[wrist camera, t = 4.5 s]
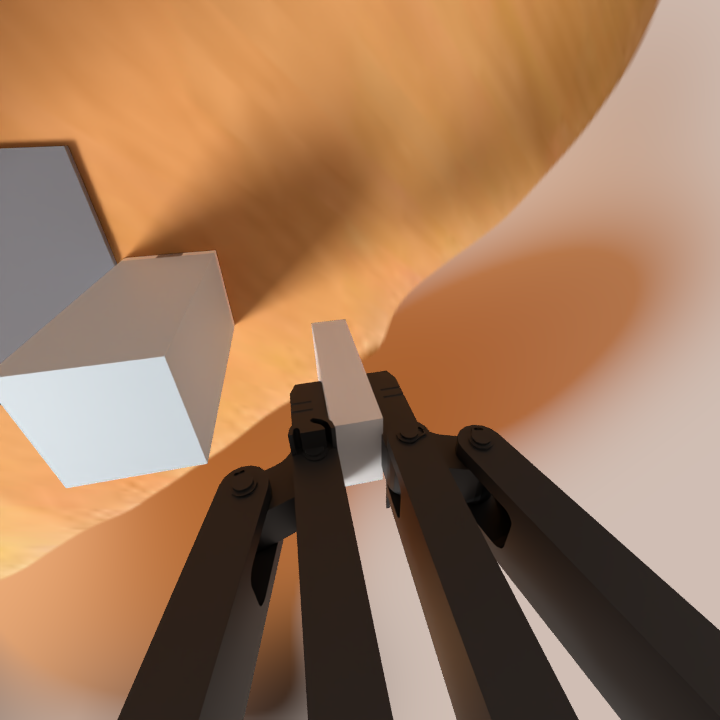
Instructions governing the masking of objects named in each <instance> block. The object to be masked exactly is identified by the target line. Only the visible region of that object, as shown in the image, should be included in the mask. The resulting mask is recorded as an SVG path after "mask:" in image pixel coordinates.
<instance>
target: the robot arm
mask: <svg viewBox="0 0 720 720" xmlns="http://www.w3.org/2000/svg"><path fill="white" fill-rule="evenodd" d="M311 324H312V333H313V341H314V349H315V358H316V366H317V374H318V380H319V381H318V382H311V383H304V384H298V385H295V386H294V388H293V390H292V391H291V393H290V403H291V418H292V426H291V427H290V429H289V433H288V438H289V443H290V448H291V453H290V454H289V455H288V456H287V458H286V459H284V460H283V461H282V462H281V463H279V464H277V465H276V466H274V467H272V468H269V469H267V470H265V471H264V470H263V469H261V468H260V467H256V466H245V467H240V468H238V469H236V470H234V471H232V472H231V473H229V474H228V475H227V476H226V477H225V478H224V479H223V480H222V482H221V484H220V485H219V487H218V489H217V492H216V494H215V496H214V499H213V501H212V503H211V506H210V508H209V510H208V512H207V515H206V517H205V519H204V522H203V524H202V526H201V529H200V531H199V533H198V536H197V538H196V540H195V542H194V545H193V547H192V549H191V552H190V554H189V556H188V559H187V561H186V563H185V566H184V568H183V570H182V572H181V575H180V577H179V580H178V582H177V584H176V586H175V588H174V591H173V593H172V595H171V598H170V600H169V602H168V605H167V607H166V609H165V611H164V614H163V616H162V619H161V621H160V623H159V626H158V628H157V630H156V632H155V635H154V637H153V639H152V641H151V644H150V646H149V649H148V651H147V653H146V655H145V658H144V660H143V662H142V664H141V667H140V669H139V671H138V674H137V676H136V679H135V681H134V683H133V685H132V688H131V690H130V692H129V694H128V697H127V699H126V701H125V704H124V706H123V708H122V710H121V713H120V715H119V718H118V720H244V715H245V711H246V706H247V702H248V698H249V693H250V688H251V684H252V679H253V675H254V670H255V666H256V661H257V656H258V652H259V648H260V643H261V638H262V634H263V630H264V625H265V620H266V616H267V611H268V607H269V602H270V598H271V593H272V588H273V584H274V580H275V575H276V570H277V566H278V562H279V557H280V552H281V548H282V544H283V539H284V538H286V537H288V536H290V535H291V534H293V533H295V532H297V544H298V545H297V546H298V562H299V579H300V594H301V611H302V627H303V644H304V660H305V677H306V693H307V710H308V720H393V716H392V711H391V707H390V702H389V697H388V692H387V687H386V682H385V677H384V672H383V668H382V663H381V658H380V653H379V648H378V643H377V638H376V633H375V629H374V624H373V619H372V614H371V609H370V604H369V600H368V595H367V590H366V585H365V580H364V575H363V570H362V565H361V561H360V556H359V551H358V546H357V541H356V536H355V531H354V527H353V522H352V517H351V512H350V507H349V503H348V498H347V493H346V488H345V486H349V485H355V484H360V483H366V482H371V481H376V480H381V479H383V472H384V475H385V478H386V508H389V507H390V506H391V509H392V512H393V515H394V519H395V522H396V525H397V528H398V532H399V534H400V538H401V541H402V544H403V547H404V551H405V554H406V557H407V561H408V564H409V567H410V570H411V574H412V577H413V580H414V583H415V586H416V590H417V593H418V596H419V599H420V603H421V606H422V609H423V612H424V615H425V619H426V622H427V625H428V628H429V632H430V635H431V638H432V641H433V644H434V648H435V651H436V654H437V657H438V661H439V664H440V667H441V670H442V674H443V677H444V680H445V683H446V686H447V690H448V693H449V696H450V699H451V702H452V706H453V709H454V712H455V715H456V719H457V720H579V719H578V718H577V716H576V714H575V712H574V710H573V708H572V706H571V704H570V702H569V700H568V698H567V696H566V694H565V692H564V690H563V689H562V687H561V685H560V683H559V681H558V679H557V677H556V675H555V673H554V671H553V669H552V667H551V665H550V663H549V662H548V660H547V658H546V656H545V654H544V652H543V650H542V648H541V646H540V644H539V642H538V640H537V638H536V636H535V634H534V633H533V631H532V629H531V627H530V625H529V623H528V621H527V619H526V617H525V615H524V613H523V611H522V609H521V607H520V605H519V604H518V602H517V600H516V598H515V596H514V594H513V592H512V590H511V588H510V586H509V584H508V582H507V581H506V579H505V576H504V575H503V573H502V571H501V569H500V567H499V565H498V563H499V564H500V566H501V567H502V568H503V570H504V571H505V572H506V573H507V575H508V576H509V577H510V579H511V580H512V581H513V582H514V584H515V585H516V586H517V588H518V589H519V590H520V591H521V592H522V594H523V595H524V596H525V598H526V599H527V600H528V601H529V603H530V604H531V605H532V607H533V608H534V609H535V610H536V612H537V613H538V614H539V615H540V617H541V618H542V619H543V621H544V622H545V623H546V624H547V626H548V627H549V628H550V630H551V631H552V632H553V633H554V635H555V636H556V637H557V638H558V640H559V641H560V642H561V643H562V645H563V646H564V647H565V649H566V650H567V651H568V653H569V654H570V655H571V656H572V658H573V659H574V660H575V661H576V663H577V664H578V665H579V666H580V668H581V669H582V670H583V671H584V673H585V674H586V675H587V677H588V678H589V679H590V681H591V682H592V683H593V684H594V686H595V687H596V688H597V689H598V691H599V692H600V693H601V695H602V696H603V697H604V698H605V700H606V701H607V702H608V703H609V705H610V706H611V707H612V709H613V710H614V711H615V712H616V714H617V715H618V716H619V717H620V719H621V720H720V630H719V629H717V628H716V627H715V626H714V625H713V624H712V623H711V622H710V621H708V620H707V619H706V618H705V617H704V616H703V615H702V614H701V613H699V612H698V611H697V610H696V609H695V608H694V607H693V606H692V605H690V604H689V603H688V602H687V601H686V600H685V599H683V597H681V596H680V595H679V594H678V593H677V592H676V591H675V590H674V589H672V588H671V587H670V586H669V585H668V584H667V583H666V582H665V581H663V580H662V579H661V578H660V577H659V576H658V575H657V574H656V573H654V572H653V571H652V570H651V569H650V568H649V567H648V566H646V565H645V564H644V563H643V562H642V561H641V560H640V559H639V558H638V557H636V556H635V555H634V554H633V553H632V552H631V551H630V550H629V549H627V548H626V547H625V546H624V545H623V544H622V543H621V542H620V541H618V540H617V539H616V538H615V537H614V536H613V535H612V534H611V533H609V532H608V531H607V530H606V529H605V528H604V527H603V526H602V525H600V524H599V523H598V522H597V521H596V520H595V519H594V518H593V517H591V516H590V515H589V514H588V513H587V512H586V511H585V510H584V509H582V508H581V507H580V506H579V505H578V504H577V503H576V502H575V501H573V500H572V499H571V498H570V497H569V496H568V495H566V494H565V493H564V492H563V491H562V490H561V489H560V488H558V486H556V485H555V484H554V483H553V482H552V481H551V480H550V479H549V478H547V477H546V476H545V475H544V474H543V473H542V472H541V471H539V470H538V469H537V468H536V467H535V466H533V464H532V463H530V462H529V461H528V460H527V459H526V458H525V457H524V456H523V455H521V454H520V453H519V452H518V451H517V450H516V449H515V448H514V447H512V446H511V445H510V444H509V443H508V442H507V441H506V440H505V439H504V438H502V437H501V436H500V435H499V434H498V433H496V432H495V431H493V430H492V429H490V428H487V427H485V426H479V425H471V426H466V427H464V428H463V429H462V430H460V432H459V434H458V436H449V435H439V434H435V433H432V432H429V430H428V429H427V428H426V427H425V426H424V425H422V424H421V423H419V422H417V420H416V418H415V416H414V414H413V412H412V410H411V408H410V406H409V404H408V402H407V400H406V398H405V396H404V395H403V392H402V390H401V388H400V386H399V384H398V382H397V380H396V378H395V377H394V376H393V375H391V374H390V373H389V372H387V371H381V372H375V373H367V374H366V372H365V370H364V367H363V364H362V362H361V359H360V357H359V354H358V351H357V349H356V346H355V344H354V341H353V338H352V336H351V333H350V331H349V328H348V325H347V323H346V320H345V319H343V320H334V321H326V322H318V323H311ZM497 562H498V563H497Z"/></svg>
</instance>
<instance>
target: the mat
mask: <svg viewBox="0 0 720 720" xmlns="http://www.w3.org/2000/svg"><path fill="white" fill-rule="evenodd" d="M116 265H117V262H116V260H115V258H114V255H113V253H112V250H111V248H110V246H109V243H108V241H107V238H106V236H105V234H104V231H103V229H102V226H101V224H100V222H99V219H98V217H97V214H96V212H95V210H94V207H93V205H92V202H91V200H90V198H89V195H88V193H87V190H86V188H85V186H84V183H83V181H82V178H81V176H80V174H79V171H78V169H77V166H76V164H75V162H74V159H73V157H72V154H71V152H70V150H69V147H68V146H50V147H24V148H0V364H1V363H2V362H3V361H4V360H5V359H7V358H8V357H9V356H10V355H11V354H12V353H14V352H15V351H16V350H17V349H18V348H20V347H21V346H22V345H23V344H24V343H25V342H27V341H28V340H29V339H30V338H31V337H32V336H34V335H35V334H36V333H37V332H38V331H39V330H41V329H42V328H43V327H44V326H45V325H46V324H48V323H49V322H50V321H51V320H52V319H54V318H55V317H56V316H57V315H58V314H59V313H61V312H62V311H63V310H64V309H65V308H66V307H68V306H69V305H70V304H71V303H72V302H73V301H75V300H76V299H77V298H78V297H79V296H81V295H82V294H83V293H84V292H85V291H86V290H88V289H89V288H90V287H91V286H92V285H93V284H95V283H96V282H97V281H98V280H99V279H100V278H102V277H103V276H104V275H105V274H106V273H107V272H109V271H110V270H111V269H112V268H113V267H115V266H116ZM0 405H1V403H0Z"/></svg>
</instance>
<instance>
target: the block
mask: <svg viewBox="0 0 720 720" xmlns="http://www.w3.org/2000/svg"><path fill="white" fill-rule="evenodd" d="M234 326H235V324H234V320H233V316H232V312H231V309H230V305H229V301H228V297H227V293H226V289H225V285H224V281H223V277H222V273H221V269H220V265H219V261H218V257H217V254H216V250H212V251H200V252H188V253H177V254H165V255H153V256H141V257H130V258H124V259H123V260H122V261H120V262H119V263H118V264H117V265H116V266H115V267H113V268H112V269H111V270H110V271H109V272H107V273H106V274H105V275H104V276H103V277H102V278H100V279H99V280H98V281H97V282H96V283H95V284H93V285H92V286H91V287H90V288H89V289H88V290H86V291H85V292H84V293H83V294H82V295H81V296H79V297H78V298H77V299H76V300H75V301H73V302H72V303H71V304H70V305H69V306H68V307H66V308H65V309H64V310H63V311H62V312H61V313H59V314H58V315H57V316H56V317H55V318H54V319H52V320H51V321H50V322H49V323H48V324H46V325H45V326H44V327H43V328H42V329H41V330H39V331H38V332H37V333H36V334H35V335H34V336H32V337H31V338H30V339H29V340H28V341H27V342H25V343H24V344H23V345H22V346H21V347H20V348H18V349H17V350H16V351H15V352H14V353H12V354H11V355H10V356H9V357H8V358H7V359H5V360H4V361H3V362H2V363H1V364H0V403H1V405H2V406H3V407H4V409H5V410H6V411H7V412H8V414H9V415H10V416H11V418H12V419H13V420H14V421H15V423H16V424H17V425H18V427H19V428H20V429H21V431H22V432H23V433H24V434H25V436H26V437H27V438H28V440H29V441H30V442H31V443H32V445H33V446H34V447H35V449H36V450H37V451H38V452H39V454H40V455H41V456H42V458H43V459H44V460H45V462H46V463H47V464H48V465H49V467H50V468H51V469H52V471H53V472H54V473H55V474H56V476H57V477H58V478H59V480H60V481H61V482H62V483H63V485H64V486H65V487H66V488H70V487H75V486H81V485H87V484H93V483H98V482H104V481H110V480H116V479H121V478H127V477H133V476H139V475H144V474H150V473H156V472H162V471H167V470H173V469H179V468H185V467H190V466H196V465H202V464H207V463H208V458H209V453H210V448H211V443H212V438H213V433H214V427H215V422H216V417H217V412H218V407H219V402H220V397H221V392H222V387H223V382H224V377H225V372H226V367H227V362H228V356H229V351H230V346H231V341H232V336H233V331H234Z"/></svg>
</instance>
